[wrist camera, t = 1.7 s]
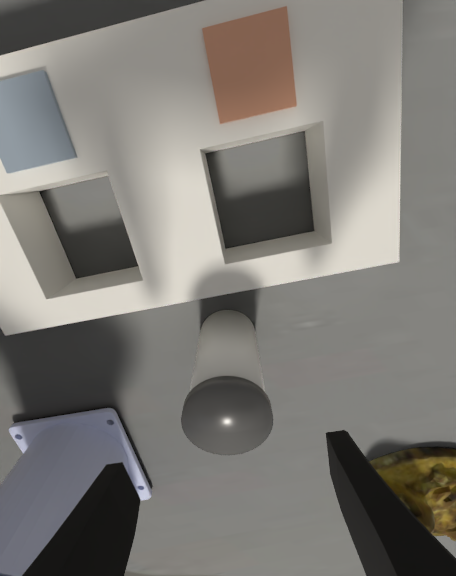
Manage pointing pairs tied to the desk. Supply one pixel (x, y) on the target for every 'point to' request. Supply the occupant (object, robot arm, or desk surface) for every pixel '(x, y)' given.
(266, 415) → the plug
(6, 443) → the desk surface
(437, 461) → the mottled yellow lump
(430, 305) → the desk surface
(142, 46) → the white flat block
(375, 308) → the desk surface
